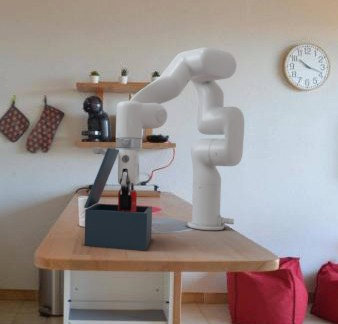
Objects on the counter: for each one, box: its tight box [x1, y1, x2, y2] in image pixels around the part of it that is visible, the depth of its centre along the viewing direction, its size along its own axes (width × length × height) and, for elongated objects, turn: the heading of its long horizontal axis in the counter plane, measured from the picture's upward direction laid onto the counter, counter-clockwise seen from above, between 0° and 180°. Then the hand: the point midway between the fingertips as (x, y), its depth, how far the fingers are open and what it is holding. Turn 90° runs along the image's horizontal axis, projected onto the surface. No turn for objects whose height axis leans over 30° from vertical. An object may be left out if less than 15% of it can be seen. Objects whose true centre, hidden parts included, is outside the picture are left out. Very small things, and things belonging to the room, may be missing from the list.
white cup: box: [77, 195, 101, 228], centre depth 137 cm, size 8×8×10 cm
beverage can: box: [117, 188, 138, 212], centre depth 112 cm, size 5×5×12 cm
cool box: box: [83, 203, 153, 252], centre depth 112 cm, size 17×14×10 cm
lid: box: [84, 146, 119, 208], centre depth 114 cm, size 18×14×6 cm
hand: (127, 207), depth 112 cm, fingers closed on beverage can, 5 cm apart
